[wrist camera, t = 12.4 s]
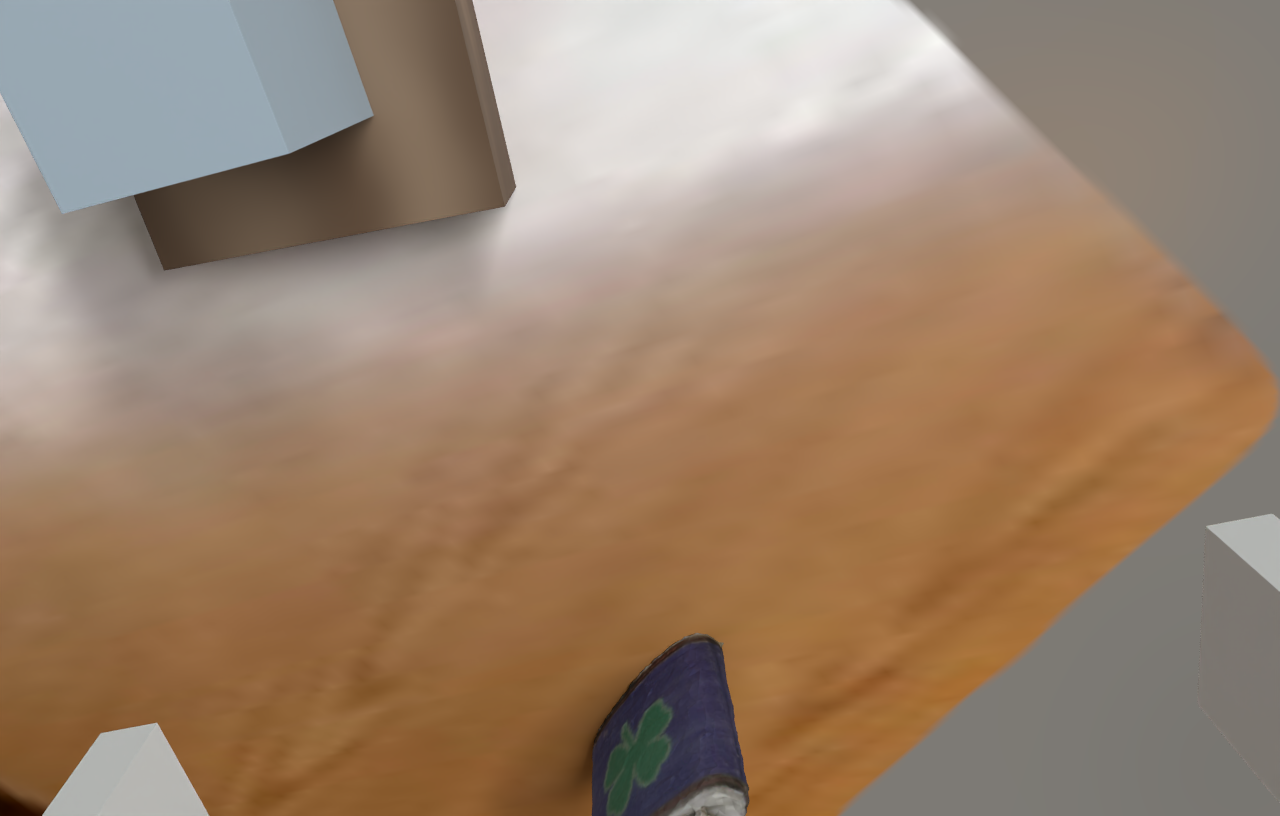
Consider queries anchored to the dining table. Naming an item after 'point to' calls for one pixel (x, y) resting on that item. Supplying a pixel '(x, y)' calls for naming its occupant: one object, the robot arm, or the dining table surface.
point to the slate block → (171, 88)
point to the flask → (672, 740)
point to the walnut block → (360, 148)
